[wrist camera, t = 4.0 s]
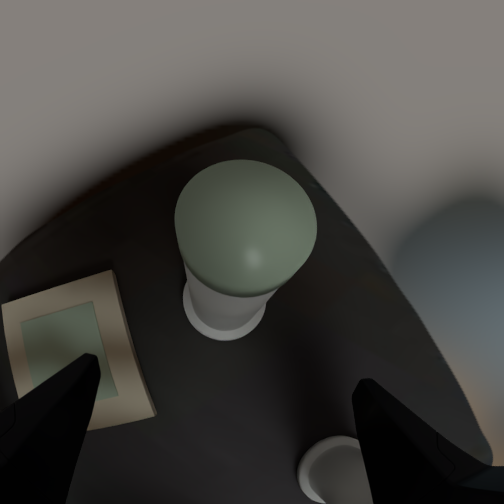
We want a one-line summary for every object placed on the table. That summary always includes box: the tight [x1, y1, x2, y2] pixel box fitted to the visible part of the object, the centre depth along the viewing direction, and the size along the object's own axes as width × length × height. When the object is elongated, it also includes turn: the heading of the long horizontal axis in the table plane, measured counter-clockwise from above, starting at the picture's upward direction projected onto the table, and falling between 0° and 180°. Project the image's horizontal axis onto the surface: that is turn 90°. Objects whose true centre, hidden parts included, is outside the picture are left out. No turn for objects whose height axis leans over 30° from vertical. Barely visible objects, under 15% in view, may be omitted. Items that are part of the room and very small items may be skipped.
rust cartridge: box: [297, 435, 373, 504], centre depth 12 cm, size 6×6×13 cm
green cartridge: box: [175, 160, 317, 341], centre depth 16 cm, size 6×6×13 cm
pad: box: [2, 270, 157, 431], centre depth 18 cm, size 11×11×1 cm
